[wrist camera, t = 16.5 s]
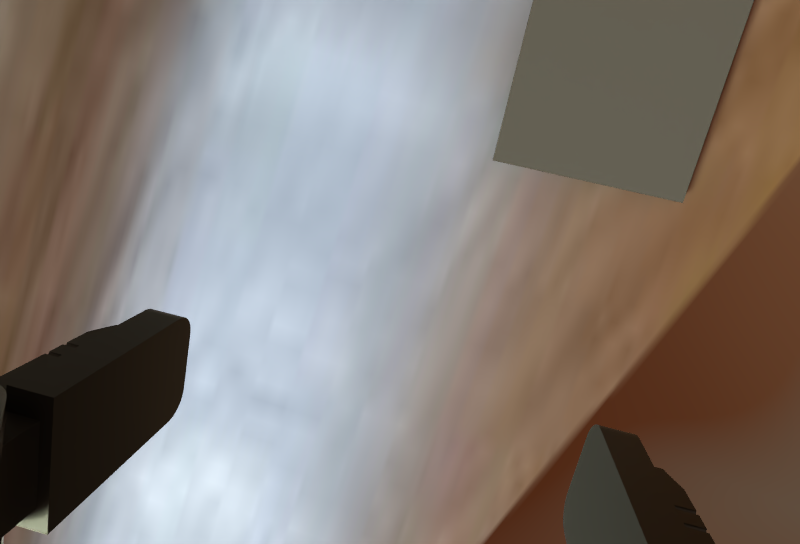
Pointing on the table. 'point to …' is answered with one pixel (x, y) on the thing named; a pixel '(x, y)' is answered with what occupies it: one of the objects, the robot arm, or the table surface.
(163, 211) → the table surface
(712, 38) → the pin board
